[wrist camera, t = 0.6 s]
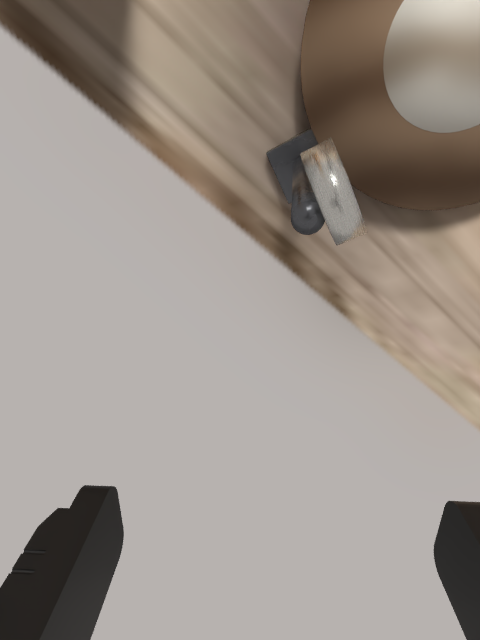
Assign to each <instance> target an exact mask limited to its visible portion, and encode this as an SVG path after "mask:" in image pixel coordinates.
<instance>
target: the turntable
mask: <svg viewBox="0 0 480 640" xmlns="http://www.w3.org/2000/svg"><path fill="white" fill-rule="evenodd" d="M300 69H301V84H302V93H303V99H304V104H305V110H306V113H307V116H308V119H309V123H310V126H311V129H312V131H313V133H314V135H315V137H316V140H317V142H318V144H319V143H321V142H323V141H325V140H327V139H329V138H331V139H332V140H333V142H334V144H335V147H336V149H337V151H338V154H339V156H340V158H341V161H342V163H343V166H344V168H345V171H346V173H347V176H348V178H349V181H350V184H352V185H353V186H354V187H355V188H357V189H358V190H360V191H362V192H363V193H365V194H366V195H368V196H370V197H372V198H374V199H377V200H379V201H381V202H383V203H386V204H390V205H394V206H397V207H401V208H408V209H415V210H442V209H450V208H457V207H461V206H466V205H470V204H474V203H477V202H480V0H310V3H309V7H308V11H307V14H306V19H305V25H304V32H303V38H302V47H301V68H300Z"/></svg>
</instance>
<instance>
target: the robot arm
mask: <svg viewBox="0 0 480 640" xmlns="http://www.w3.org/2000/svg"><path fill="white" fill-rule="evenodd" d="M123 536H124V532H123V524H122V517H121V511H120V505H119V499H118V492H117V489H116V487H113V486H89V485H87V486H86V485H85V486H83V487H82V488H81V489H80V491H79V492H78V494H77V496H76V497H75V499H74V501H73V503H72V505H71V506H70V508H69V509H68V508H58V509H57V510H55V511H54V512H53V513H52V514H51V515H50V516H49V517H48V518H47V519H46V520H45V521H44V522H42V523H41V524H40V525H39V526H38V528H37V529H36V531H35V532H34V534H33V536H32V537H31V539H30V541H29V542H28V544H27V545H26V547H25V549H24V553H23V554H21V555H20V557H19V558H18V560H17V562H16V563H15V565H14V567H13V569H12V572H11V574H9V575H8V576H7V578H6V580H5V581H4V583H3V585H2V586H1V588H0V640H90V639H91V636H92V633H93V631H94V628H95V625H96V622H97V619H98V617H99V614H100V611H101V608H102V605H103V603H104V600H105V597H106V594H107V591H108V589H109V586H110V583H111V580H112V577H113V575H114V572H115V569H116V566H117V564H118V561H119V558H120V554H121V550H122V545H123ZM434 559H435V564H436V568H437V572H438V574H439V577H440V579H441V581H442V584H443V586H444V588H445V591H446V593H447V595H448V598H449V600H450V602H451V605H452V607H453V609H454V611H455V614H456V616H457V618H458V620H459V623H460V625H461V628H462V630H463V632H464V635H465V637H466V639H467V640H480V502H459V501H448V502H447V503H446V505H445V507H444V511H443V515H442V518H441V522H440V526H439V529H438V533H437V537H436V540H435V544H434Z"/></svg>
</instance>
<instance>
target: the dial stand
mask: <svg viewBox="0 0 480 640" xmlns="http://www.w3.org/2000/svg"><path fill="white" fill-rule="evenodd" d="M266 154H267V156H268V159H269V161H270V163H271V165H272V167H273V170H274V172H275V174H276V176H277V179H278V181H279V183H280V185H281V188H282V190H283V192H284V194H285V197H286V199H287V201H288V203H291V202H292V208H291V222H292V225H293V227H294V229H295V230H296V231H297V232H299V233H301V234H305V235H310V234H313V233H316V232H317V231H319V230H320V229H321V228H322V226H323V224H324V222H325V221H326V224H327V226H328V228H329V231H330V233H331V235H332V237H333V240H334V242H335V244H336V245H340V244H342V243H345V242H347V241H349V240H352V239H354V238H356V237H359V236H361V235H363V234H366V233H367V229H366V226H365V223H364V220H363V217H362V214H361V211H360V208H359V205H358V202H357V200H356V197H355V194H354V192H353V189H352V186H351V184H350V181H349V178H348V176H347V173H346V171H345V168H344V166H343V163H342V161H341V158H340V156H339V154H338V151H337V149H336V147H335V144H334V142H333V140H332V139H331V138H329V139H327V140H325V141H323V142H321V143H319V144H318V142H317V140H316V137H315V135H314V133H313V131H312V129H311V128H310V129H308V130H306V131H305V132H303V133H301V134H299V135H297V136H295V137H293V138H292V139H290V140H288V141H286V142H284V143H282V144H281V145H279V146H277V147H275V148H273V149H271V150H269V151H268V152H267V153H266Z"/></svg>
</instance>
